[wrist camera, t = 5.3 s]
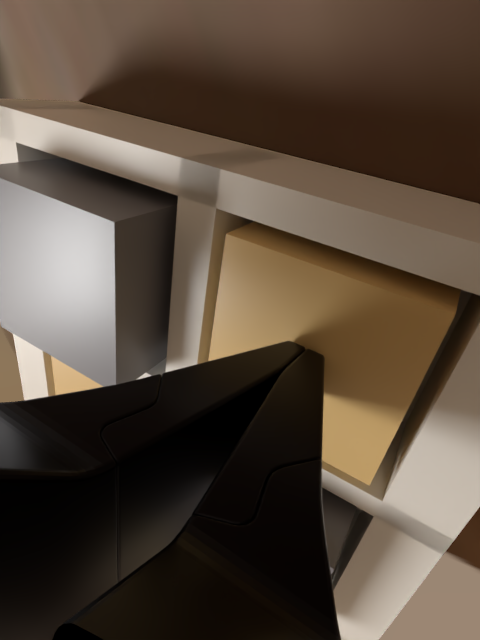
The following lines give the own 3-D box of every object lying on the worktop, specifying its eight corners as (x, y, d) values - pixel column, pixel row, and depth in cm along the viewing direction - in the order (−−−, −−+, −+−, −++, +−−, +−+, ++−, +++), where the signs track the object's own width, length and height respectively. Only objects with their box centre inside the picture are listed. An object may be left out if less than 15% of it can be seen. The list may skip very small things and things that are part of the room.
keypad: (597, 233, 8) (643, 290, 6) (384, 566, 15) (359, 664, 12) (76, 100, 14) (-28, 97, 11) (92, 390, 20) (29, 432, 18)
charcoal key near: (200, 198, 10) (114, 222, 8) (185, 343, 13) (116, 394, 10) (73, 156, 12) (-29, 166, 10) (81, 292, 14) (1, 326, 12)
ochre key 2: (466, 264, 9) (456, 314, 7) (395, 411, 12) (369, 485, 9) (284, 207, 11) (226, 233, 9) (255, 347, 13) (203, 396, 11)
